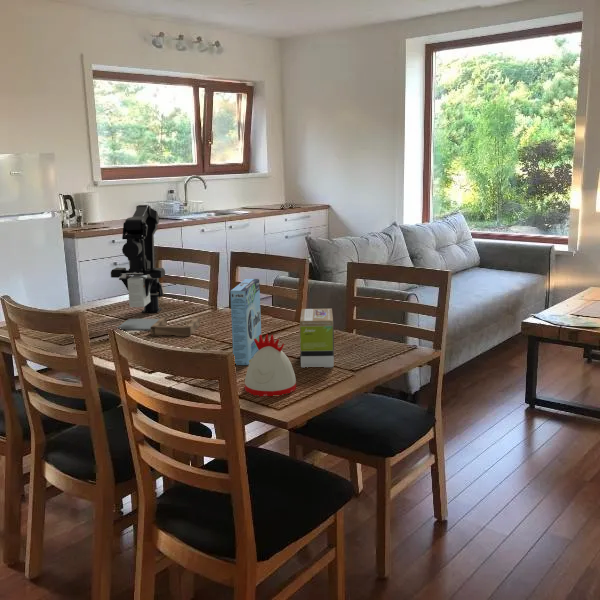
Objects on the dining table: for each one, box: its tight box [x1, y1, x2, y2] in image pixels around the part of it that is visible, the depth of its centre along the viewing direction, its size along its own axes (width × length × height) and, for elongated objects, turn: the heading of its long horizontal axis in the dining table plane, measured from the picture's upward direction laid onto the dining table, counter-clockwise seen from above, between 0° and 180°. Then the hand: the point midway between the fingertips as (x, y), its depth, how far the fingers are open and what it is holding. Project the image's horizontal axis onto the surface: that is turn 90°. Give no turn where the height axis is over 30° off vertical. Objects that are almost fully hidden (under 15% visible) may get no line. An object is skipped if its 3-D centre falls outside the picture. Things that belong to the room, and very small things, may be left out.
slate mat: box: [116, 318, 161, 331], centre depth 247 cm, size 14×14×1 cm
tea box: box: [299, 308, 335, 369], centre depth 202 cm, size 15×10×15 cm
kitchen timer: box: [244, 333, 297, 397], centre depth 179 cm, size 14×14×15 cm
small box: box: [127, 275, 150, 308], centre depth 244 cm, size 8×6×10 cm
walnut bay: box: [150, 316, 201, 337], centre depth 239 cm, size 14×14×3 cm
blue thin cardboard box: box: [229, 278, 262, 366], centre depth 206 cm, size 20×5×23 cm, turn 171°
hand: (139, 295), depth 245 cm, fingers closed on small box, 6 cm apart
